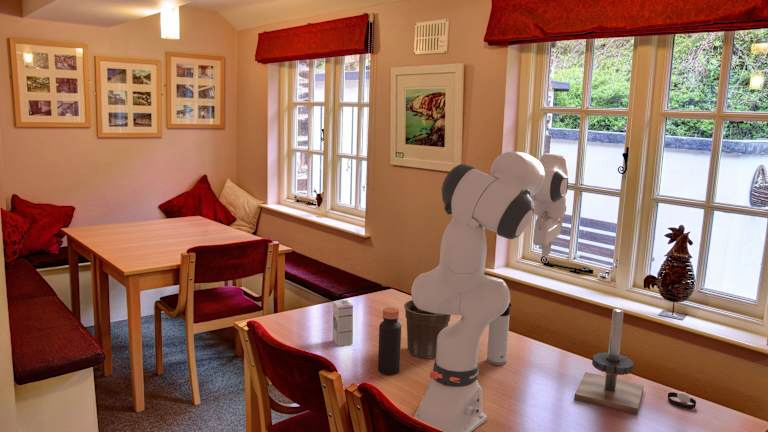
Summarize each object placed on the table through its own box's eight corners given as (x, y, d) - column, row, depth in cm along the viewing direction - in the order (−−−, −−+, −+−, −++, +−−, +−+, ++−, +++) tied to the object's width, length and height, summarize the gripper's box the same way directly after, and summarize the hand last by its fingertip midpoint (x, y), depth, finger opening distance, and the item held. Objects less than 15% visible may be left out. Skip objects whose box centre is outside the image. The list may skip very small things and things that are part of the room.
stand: (636, 415, 175) (637, 408, 175) (573, 400, 183) (574, 393, 182) (643, 390, 190) (643, 384, 190) (584, 378, 198) (585, 371, 197)
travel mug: (507, 366, 204) (511, 307, 200) (486, 364, 205) (490, 305, 202) (507, 359, 210) (511, 301, 206) (487, 356, 211) (491, 299, 208)
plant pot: (456, 348, 218) (459, 303, 215) (440, 365, 203) (443, 317, 200) (413, 339, 224) (414, 295, 221) (394, 355, 210) (396, 309, 207)
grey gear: (630, 377, 178) (630, 371, 177) (589, 369, 182) (590, 362, 182) (634, 363, 187) (635, 357, 187) (595, 356, 192) (596, 349, 192)
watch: (697, 407, 182) (699, 395, 181) (691, 412, 178) (693, 400, 178) (670, 397, 187) (671, 386, 186) (664, 402, 184) (665, 391, 183)
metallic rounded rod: (615, 392, 184) (623, 313, 179) (603, 390, 185) (611, 311, 181) (616, 388, 187) (625, 310, 182) (604, 385, 188) (612, 308, 184)
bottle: (401, 368, 200) (404, 307, 197) (396, 377, 194) (398, 314, 190) (381, 365, 202) (383, 305, 198) (375, 373, 196) (377, 312, 192)
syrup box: (353, 344, 218) (354, 304, 215) (336, 346, 216) (337, 306, 213) (348, 338, 223) (348, 299, 220) (331, 340, 221) (332, 300, 218)
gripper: (552, 215, 177) (548, 263, 179) (567, 205, 195) (563, 249, 197) (529, 213, 180) (526, 260, 182) (546, 203, 197) (543, 246, 200)
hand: (545, 254), depth 190 cm, fingers closed
